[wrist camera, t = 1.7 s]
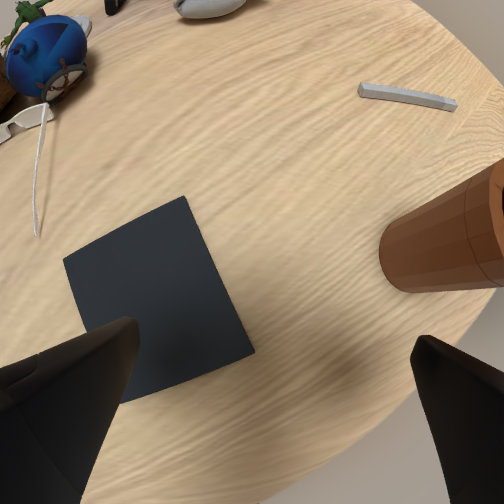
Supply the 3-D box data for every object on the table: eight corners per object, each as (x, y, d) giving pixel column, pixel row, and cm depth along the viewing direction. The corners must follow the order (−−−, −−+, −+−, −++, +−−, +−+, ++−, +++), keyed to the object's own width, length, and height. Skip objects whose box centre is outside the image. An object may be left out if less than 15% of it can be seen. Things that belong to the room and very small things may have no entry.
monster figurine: (67, 16, 27) (44, -25, 17) (106, 22, 26) (83, -30, 16) (12, 69, 26) (-20, 32, 16) (41, 84, 25) (2, 37, 15)
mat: (255, 351, 21) (255, 352, 21) (122, 402, 20) (119, 404, 20) (185, 197, 23) (183, 194, 22) (66, 259, 22) (62, 258, 21)
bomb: (54, 119, 27) (-5, 129, 15) (16, 65, 22) (-48, 53, 9) (113, 66, 27) (82, 39, 14) (73, 13, 21) (31, -30, 9)
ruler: (357, 90, 25) (360, 96, 24) (360, 82, 24) (363, 89, 23) (450, 105, 25) (453, 111, 25) (454, 99, 24) (458, 105, 24)
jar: (448, 271, 22) (561, 250, 9) (397, 306, 22) (517, 308, 9) (420, 207, 23) (521, 147, 10) (366, 235, 23) (470, 176, 10)
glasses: (60, 111, 24) (47, 97, 21) (48, 235, 22) (28, 228, 19) (-13, 147, 24) (-26, 138, 21) (-26, 256, 22) (-43, 252, 19)
